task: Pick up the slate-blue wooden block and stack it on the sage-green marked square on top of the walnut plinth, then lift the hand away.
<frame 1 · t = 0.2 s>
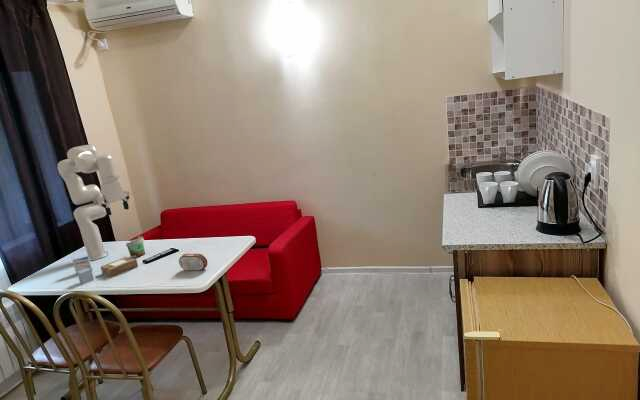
hand: (118, 212, 239), 31 cm above the table, tool pointing down, fingers open, 9 cm apart
medicine box: (84, 272, 251), on the table
plinth: (120, 270, 245), on the table
food container: (141, 255, 265), on the table
slate block: (87, 281, 236), on the table
tin: (194, 270, 227), on the table
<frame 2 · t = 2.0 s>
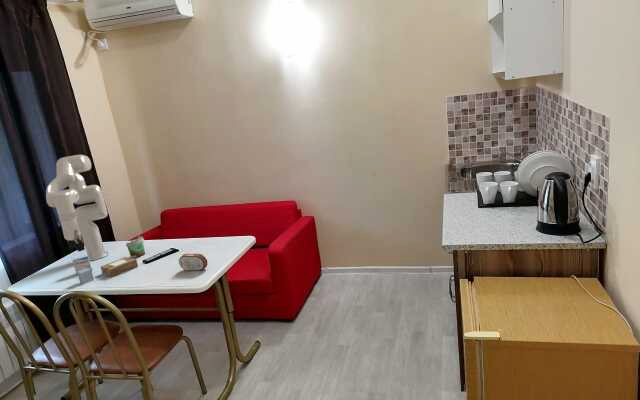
hand: (77, 249, 231), 17 cm above the table, tool pointing down, fingers open, 9 cm apart
nothing on the table moved.
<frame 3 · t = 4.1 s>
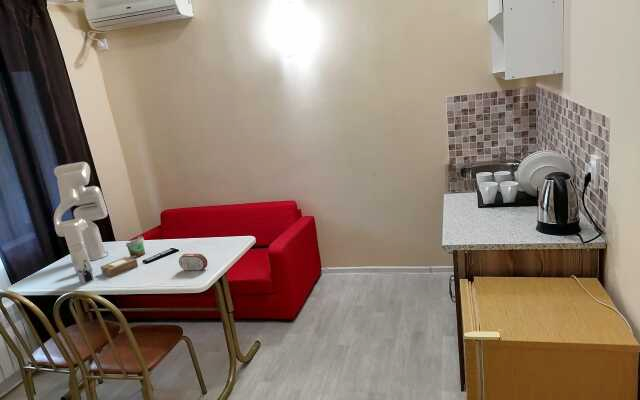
hand: (86, 279, 236), 1 cm above the table, tool pointing down, fingers closed on slate block, 5 cm apart
slate block: (87, 281, 236), on the table, touching gripper
everything else where it was.
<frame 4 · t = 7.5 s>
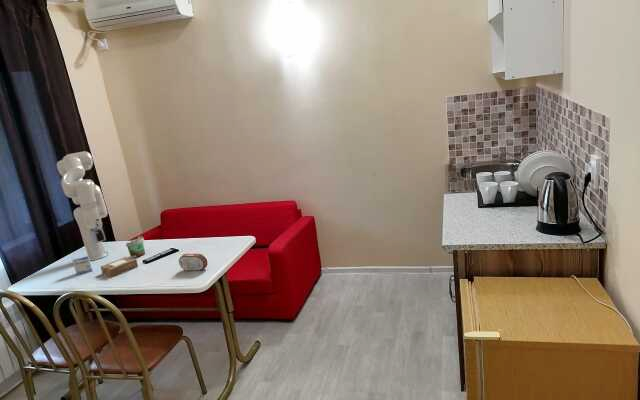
hand: (98, 239, 237), 19 cm above the table, tool pointing down, fingers closed on slate block, 5 cm apart
slate block: (99, 241, 237), point 18 cm above the table, touching gripper
everything else where it was.
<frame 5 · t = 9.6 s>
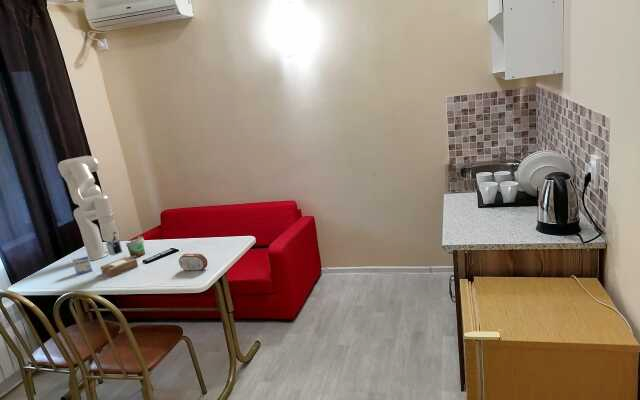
hand: (115, 252, 242), 10 cm above the table, tool pointing down, fingers closed on slate block, 5 cm apart
slate block: (115, 253, 242), point 10 cm above the table, touching gripper
everything else where it was.
when the fingers open (6 cm above the table, at t = 11.2 s): slate block drops 1 cm, resting on plinth.
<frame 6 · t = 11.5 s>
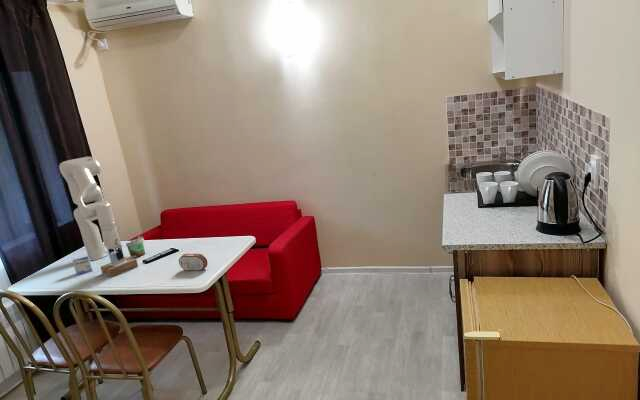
hand: (117, 257, 243), 7 cm above the table, tool pointing down, fingers open, 8 cm apart
slate block: (118, 262, 244), point 4 cm above the table, touching plinth
everything else where it was.
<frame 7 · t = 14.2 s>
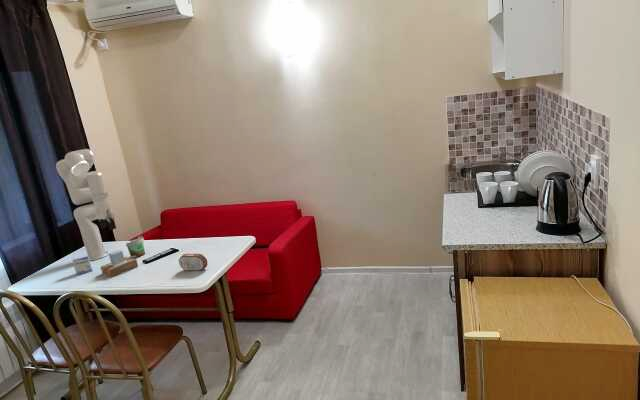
hand: (108, 228, 240), 23 cm above the table, tool pointing down, fingers open, 9 cm apart
nothing on the table moved.
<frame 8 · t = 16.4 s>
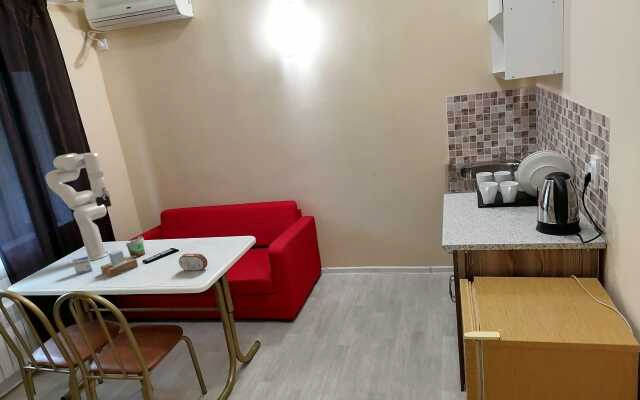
hand: (104, 206, 254), 32 cm above the table, tool pointing down, fingers open, 9 cm apart
nothing on the table moved.
at the end: slate block 0.1 cm off-centre on the plinth, point 4.2 cm above the plinth's base; slate block tilted 0°; the gripper is holding nothing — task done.
